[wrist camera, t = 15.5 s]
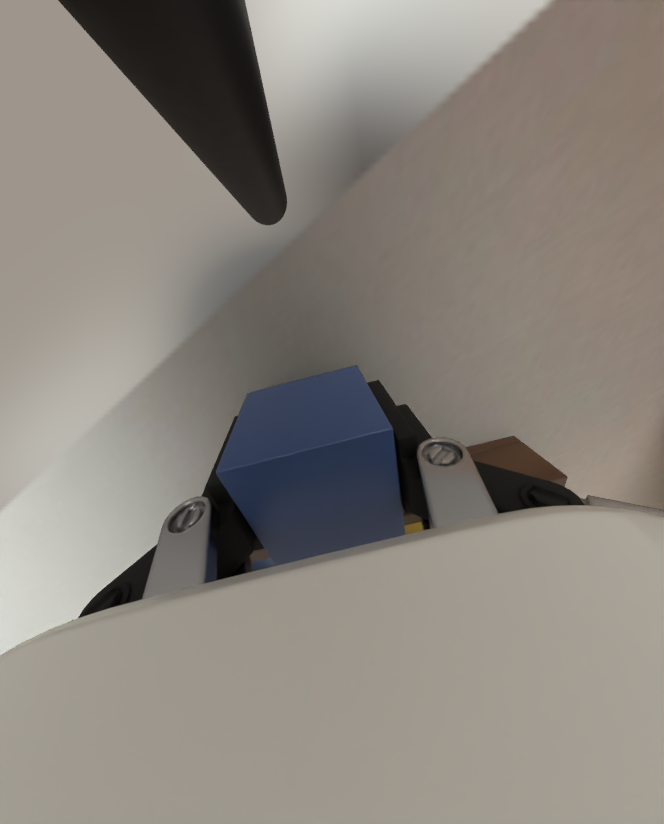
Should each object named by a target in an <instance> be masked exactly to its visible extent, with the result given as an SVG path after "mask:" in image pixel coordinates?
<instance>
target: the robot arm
mask: <svg viewBox="0 0 664 824" xmlns="http://www.w3.org/2000/svg"><path fill="white" fill-rule="evenodd" d="M367 384H368V386H369V388H370V389H371V391H372V393H373V395H374V396H375V398H376V400H377V402H378V403H379V405H380V407H381V409H382V410H383V412H384V414H385V416H386V417H387V419H388V421H389V423H390V424H391V426H392V428H393V434H394V442H395V451H396V459H397V468H398V476H399V484H400V493H401V501H402V506H403V508H404V510H405V513H406V514H408V513H412V514H414V515H416V516H419V517H421V523H422V529H423V531H419V532H415V533H411V534H407V535H402V536H398V537H394V538H390V539H386V540H381V541H377V542H373V543H369V544H364V545H360V546H356V547H352V548H348V549H344V550H339V551H335V552H331V553H327V554H323V555H319V556H315V557H310V558H306V559H302V560H298V561H294V562H290V563H286V564H282V565H278V566H273V567H269V568H265V569H261V570H257V571H253V572H252V568H251V559H250V555H251V554H252V553H253V552H254V551H257V550H261V549H265V548H264V547H263V545H262V544H261V542H260V541H259V539H258V538H257V536H256V534H255V533H254V531H253V530H252V528H251V527H250V525H249V524H248V522H247V521H246V519H245V517H244V516H243V514H242V513H241V511H240V510H239V508H238V507H237V505H236V504H235V502H234V501H233V499H232V497H231V496H230V494H229V493H228V491H227V490H226V488H225V487H224V485H223V484H222V482H221V481H220V479H219V477H218V476H217V474H216V470H217V467H218V465H219V462H220V460H221V458H222V455H223V453H224V450H225V448H226V445H227V443H228V440H229V438H230V435H231V433H232V430H233V428H234V425H235V423H236V420H237V418H238V416H235V418H234V420H233V423H232V425H231V427H230V430H229V432H228V434H227V437H226V439H225V441H224V444H223V446H222V449H221V451H220V453H219V456H218V458H217V460H216V463H215V465H214V467H213V470H212V472H211V475H210V477H209V479H208V482H207V484H206V486H205V489H204V492H203V494H202V496H201V497H195V498H191V499H189V500H187V501H185V502H183V503H182V504H180V505H179V506H178V507H176V508H175V509H174V510H173V511H172V512H171V513H170V514H169V516H168V517H167V518H166V520H165V522H164V524H163V526H162V530H161V533H160V537H159V540H158V544H157V545H156V546H155V547H153V548H152V549H151V550H150V551H148V552H147V553H146V554H145V555H144V556H142V557H141V558H140V559H139V560H138V561H136V562H135V563H134V564H133V565H132V566H130V567H129V568H128V569H127V570H125V571H124V572H123V573H122V574H121V575H119V576H118V577H117V578H116V579H115V580H113V581H112V582H111V583H110V584H108V585H107V586H106V587H105V588H104V589H102V590H101V591H100V592H99V593H98V594H97V595H96V596H95V597H94V598H93V599H92V600H91V601H90V602H89V603H88V604H87V606H86V607H85V608H84V609H83V611H82V613H81V614H80V616H79V617H78V619H75V620H72V621H70V622H67V623H65V624H62V625H60V626H57V627H54V628H52V629H50V630H48V631H46V632H44V633H42V634H39V635H37V636H35V637H33V638H31V639H29V640H27V641H25V642H23V643H21V644H19V645H17V646H15V647H14V648H12V649H10V650H9V651H7V652H5V653H3V654H2V655H0V824H664V510H660V509H655V508H650V507H645V506H640V505H635V504H630V503H625V502H620V501H615V500H610V499H605V498H600V497H595V496H590V495H588V496H587V498H586V499H581V498H579V497H578V496H577V495H576V494H574V493H573V492H572V491H571V490H569V489H567V488H565V487H564V486H562V485H559V484H557V483H554V482H551V481H548V480H544V479H540V478H537V477H533V476H529V475H526V474H522V473H518V472H515V471H511V470H507V469H503V468H500V467H496V466H492V465H489V464H485V463H481V462H478V461H474V460H472V458H471V456H470V454H469V452H468V450H467V449H466V447H465V446H464V445H463V444H461V443H460V442H458V441H456V440H453V439H449V438H444V437H436V438H432V437H431V436H430V435H429V433H428V432H427V431H426V429H425V428H424V427H423V426H422V424H421V423H420V422H419V420H418V419H417V418H416V416H415V415H414V414H413V412H412V411H411V410H410V409H409V407H408V406H407V405H406V404H404V405H400V406H396V404H395V403H394V402H393V400H392V399H391V397H390V396H389V394H388V393H387V391H386V390H385V388H384V387H383V386H382V384H381V383H380V381H379V380H377V381H373V382H369V383H367Z"/></svg>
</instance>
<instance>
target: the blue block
mask: <svg viewBox="0 0 664 824" xmlns="http://www.w3.org/2000/svg"><path fill="white" fill-rule="evenodd" d="M216 474H217V476H218V477H219V479H220V481H221V482H222V484H223V485H224V487H225V488H226V490H227V491H228V493H229V494H230V496H231V497H232V499H233V501H234V502H235V504H236V505H237V507H238V508H239V510H240V511H241V513H242V514H243V516H244V517H245V519H246V521H247V522H248V524H249V525H250V527H251V528H252V530H253V531H254V533H255V534H256V536H257V538H258V539H259V541H260V542H261V544H262V545H263V547H264V548H265V550H266V551H267V553H268V554H269V556H270V558H271V559H272V561H273V562H274V564H275V565H276V566H278V565H282V564H286V563H290V562H294V561H298V560H302V559H306V558H310V557H315V556H319V555H323V554H327V553H331V552H335V551H339V550H344V549H348V548H352V547H356V546H360V545H364V544H369V543H373V542H377V541H381V540H386V539H390V538H394V537H398V536H402V535H405V526H404V518H403V509H402V501H401V493H400V484H399V476H398V468H397V459H396V451H395V442H394V434H393V428H392V426H391V424H390V423H389V421H388V419H387V417H386V416H385V414H384V412H383V410H382V409H381V407H380V405H379V403H378V402H377V400H376V398H375V396H374V395H373V393H372V391H371V389H370V388H369V386H368V384H367V382H366V381H365V379H364V377H363V375H362V374H361V372H360V370H359V368H358V367H357V365H355V366H351V367H347V368H343V369H339V370H335V371H332V372H328V373H324V374H320V375H316V376H312V377H308V378H304V379H300V380H296V381H293V382H289V383H285V384H281V385H277V386H273V387H269V388H265V389H261V390H257V391H253V392H250V393H247V396H246V398H245V401H244V403H243V406H242V408H241V410H240V413H239V415H238V418H237V420H236V423H235V425H234V428H233V430H232V433H231V435H230V438H229V440H228V443H227V445H226V448H225V450H224V453H223V455H222V458H221V460H220V462H219V465H218V467H217V470H216Z"/></svg>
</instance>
